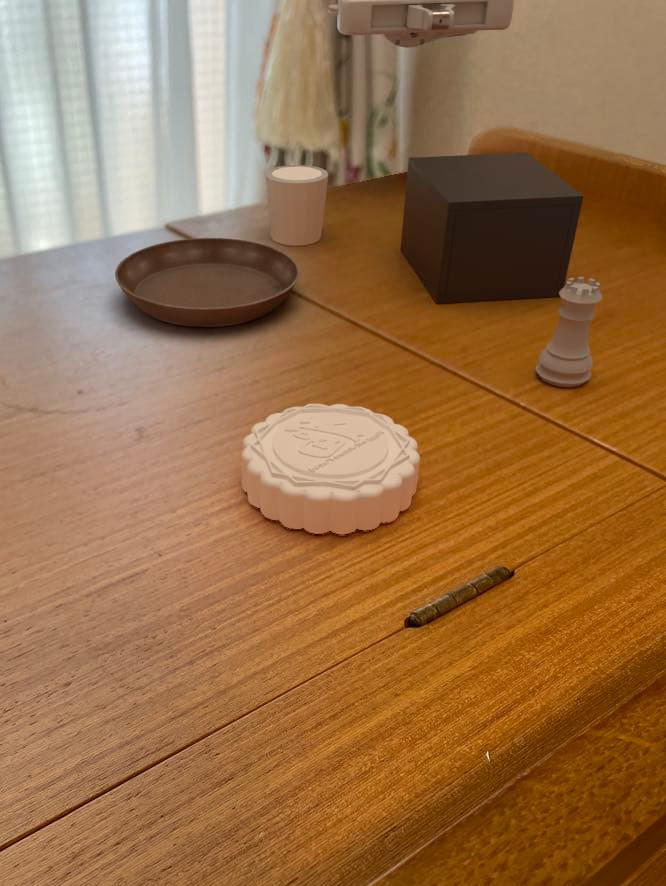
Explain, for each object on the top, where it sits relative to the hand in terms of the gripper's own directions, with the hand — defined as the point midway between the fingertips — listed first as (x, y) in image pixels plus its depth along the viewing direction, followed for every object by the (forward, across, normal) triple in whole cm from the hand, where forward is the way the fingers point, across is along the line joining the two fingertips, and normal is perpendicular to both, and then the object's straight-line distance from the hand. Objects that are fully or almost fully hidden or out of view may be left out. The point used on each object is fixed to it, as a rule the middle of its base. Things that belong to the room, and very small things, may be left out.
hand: (440, 21), depth 95 cm
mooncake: (+58, -22, +20) cm, 65 cm away
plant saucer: (+25, -28, +20) cm, 43 cm away
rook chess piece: (+45, 0, +20) cm, 49 cm away
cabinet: (+22, 0, +20) cm, 29 cm away
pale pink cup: (+9, -17, +20) cm, 28 cm away
